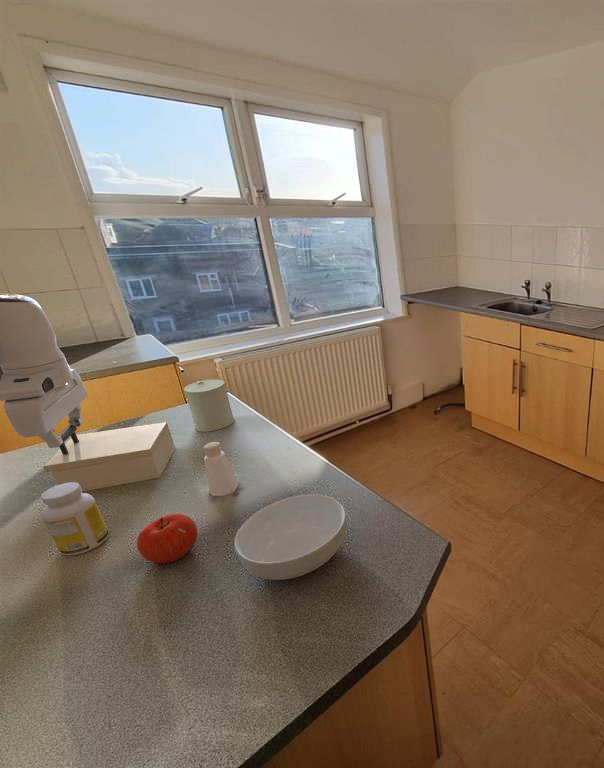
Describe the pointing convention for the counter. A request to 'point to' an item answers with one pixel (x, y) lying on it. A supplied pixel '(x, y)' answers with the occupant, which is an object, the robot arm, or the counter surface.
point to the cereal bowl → (291, 536)
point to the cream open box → (120, 469)
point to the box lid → (105, 446)
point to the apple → (167, 538)
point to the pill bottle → (73, 519)
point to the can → (209, 405)
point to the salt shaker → (218, 471)
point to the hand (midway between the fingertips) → (67, 435)
